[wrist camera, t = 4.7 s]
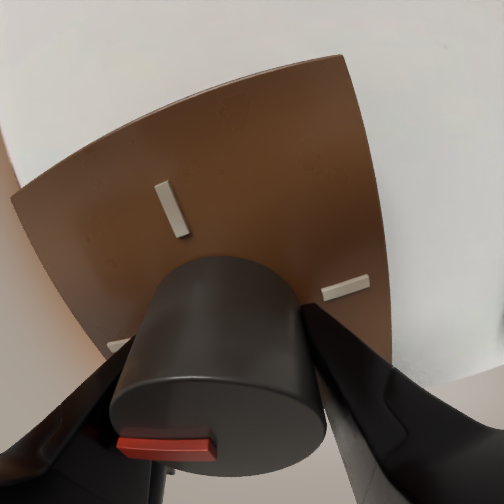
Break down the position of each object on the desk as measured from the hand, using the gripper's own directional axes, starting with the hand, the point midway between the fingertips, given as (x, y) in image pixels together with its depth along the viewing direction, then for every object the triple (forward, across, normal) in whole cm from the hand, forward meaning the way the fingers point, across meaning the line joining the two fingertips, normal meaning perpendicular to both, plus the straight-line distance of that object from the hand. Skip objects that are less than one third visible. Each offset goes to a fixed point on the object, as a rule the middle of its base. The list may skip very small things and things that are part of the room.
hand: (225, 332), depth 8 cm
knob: (0, 0, 0) cm, 0 cm away
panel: (+6, 0, 0) cm, 6 cm away
